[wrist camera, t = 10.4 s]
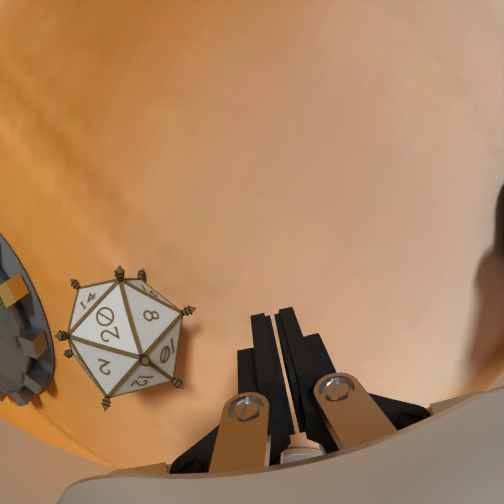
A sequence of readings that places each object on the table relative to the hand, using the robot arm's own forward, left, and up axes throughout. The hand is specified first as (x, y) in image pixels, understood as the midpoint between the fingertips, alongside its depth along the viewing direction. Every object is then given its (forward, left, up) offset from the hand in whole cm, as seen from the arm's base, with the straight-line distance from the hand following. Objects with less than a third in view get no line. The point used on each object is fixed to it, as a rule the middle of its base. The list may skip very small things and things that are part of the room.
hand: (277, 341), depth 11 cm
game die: (-1, +9, -9) cm, 13 cm away
